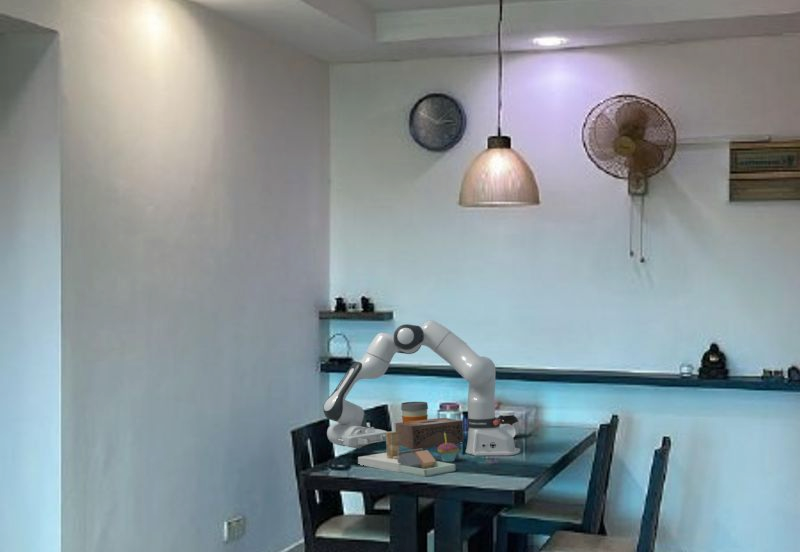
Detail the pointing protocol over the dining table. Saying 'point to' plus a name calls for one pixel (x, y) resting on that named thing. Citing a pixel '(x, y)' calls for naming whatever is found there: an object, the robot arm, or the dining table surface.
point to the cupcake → (448, 451)
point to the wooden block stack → (395, 446)
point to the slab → (379, 462)
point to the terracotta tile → (425, 459)
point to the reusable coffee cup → (414, 411)
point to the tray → (429, 469)
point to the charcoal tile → (409, 460)
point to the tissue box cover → (429, 432)
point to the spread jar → (509, 422)
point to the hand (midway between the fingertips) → (377, 440)
